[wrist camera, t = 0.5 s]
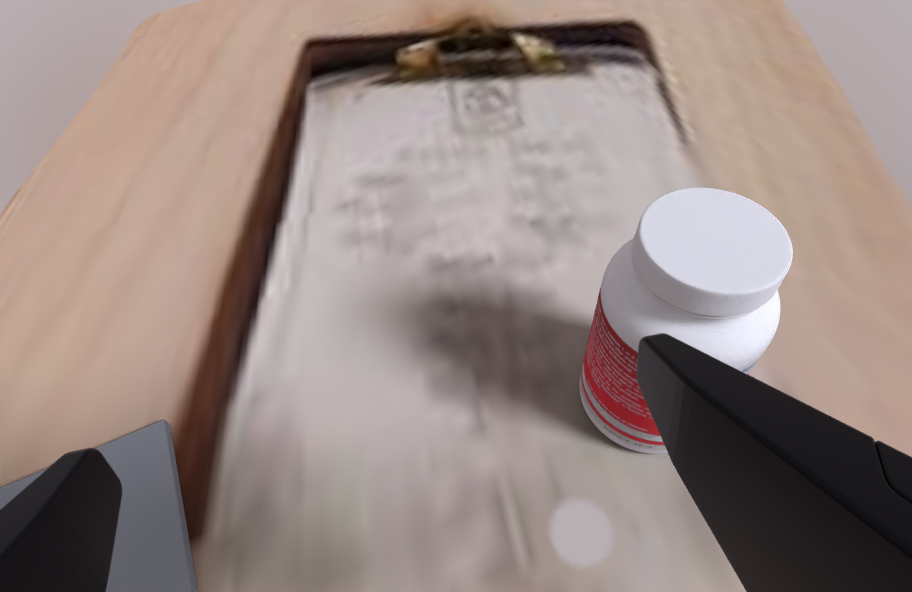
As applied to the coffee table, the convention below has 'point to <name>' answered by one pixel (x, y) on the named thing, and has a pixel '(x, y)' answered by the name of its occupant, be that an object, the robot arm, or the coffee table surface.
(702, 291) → the pill bottle
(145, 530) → the mat
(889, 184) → the coffee table surface
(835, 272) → the coffee table surface
